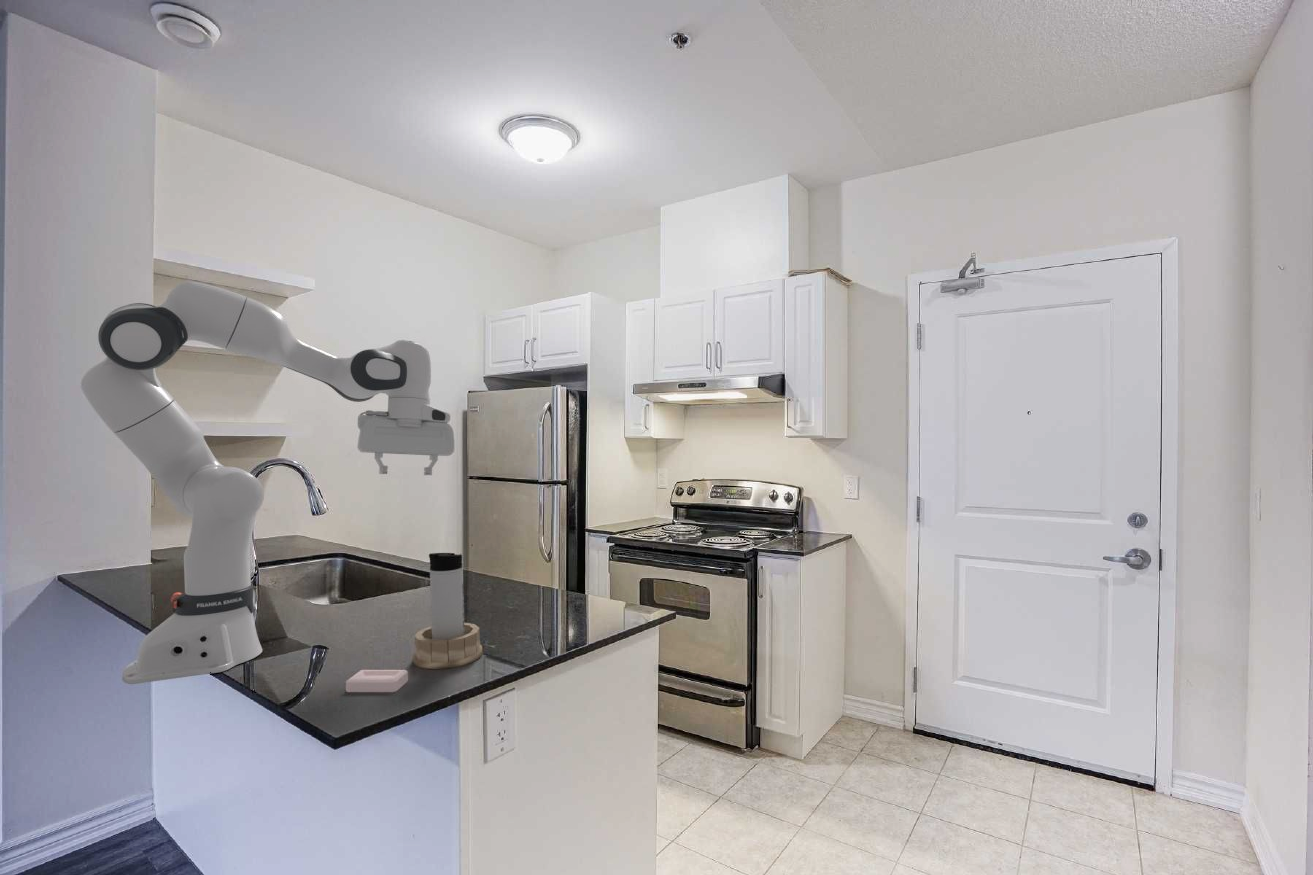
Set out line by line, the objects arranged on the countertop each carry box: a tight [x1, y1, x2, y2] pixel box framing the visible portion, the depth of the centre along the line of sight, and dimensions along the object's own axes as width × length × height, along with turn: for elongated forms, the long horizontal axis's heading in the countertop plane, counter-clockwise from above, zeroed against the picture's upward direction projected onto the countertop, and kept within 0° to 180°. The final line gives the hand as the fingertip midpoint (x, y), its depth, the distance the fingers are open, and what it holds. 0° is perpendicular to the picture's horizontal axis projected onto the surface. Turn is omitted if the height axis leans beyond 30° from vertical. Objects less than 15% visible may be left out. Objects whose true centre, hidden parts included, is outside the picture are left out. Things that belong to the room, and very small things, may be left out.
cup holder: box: [412, 622, 483, 670], centre depth 129 cm, size 13×13×5 cm
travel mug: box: [428, 552, 465, 640], centre depth 129 cm, size 6×7×20 cm
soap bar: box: [345, 669, 409, 693], centre depth 115 cm, size 5×9×2 cm, turn 87°
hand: (405, 474), depth 144 cm, fingers open, 8 cm apart
